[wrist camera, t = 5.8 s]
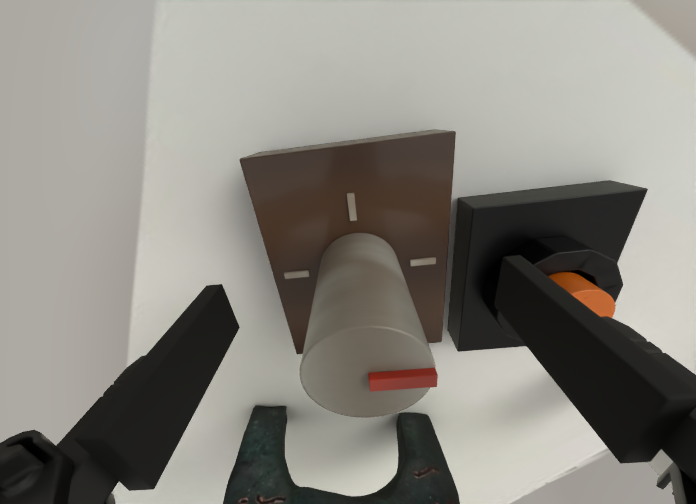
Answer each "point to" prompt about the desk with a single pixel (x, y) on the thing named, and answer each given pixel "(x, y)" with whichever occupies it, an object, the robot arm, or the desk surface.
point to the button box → (534, 248)
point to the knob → (364, 333)
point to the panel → (356, 214)
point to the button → (586, 293)
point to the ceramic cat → (291, 500)
